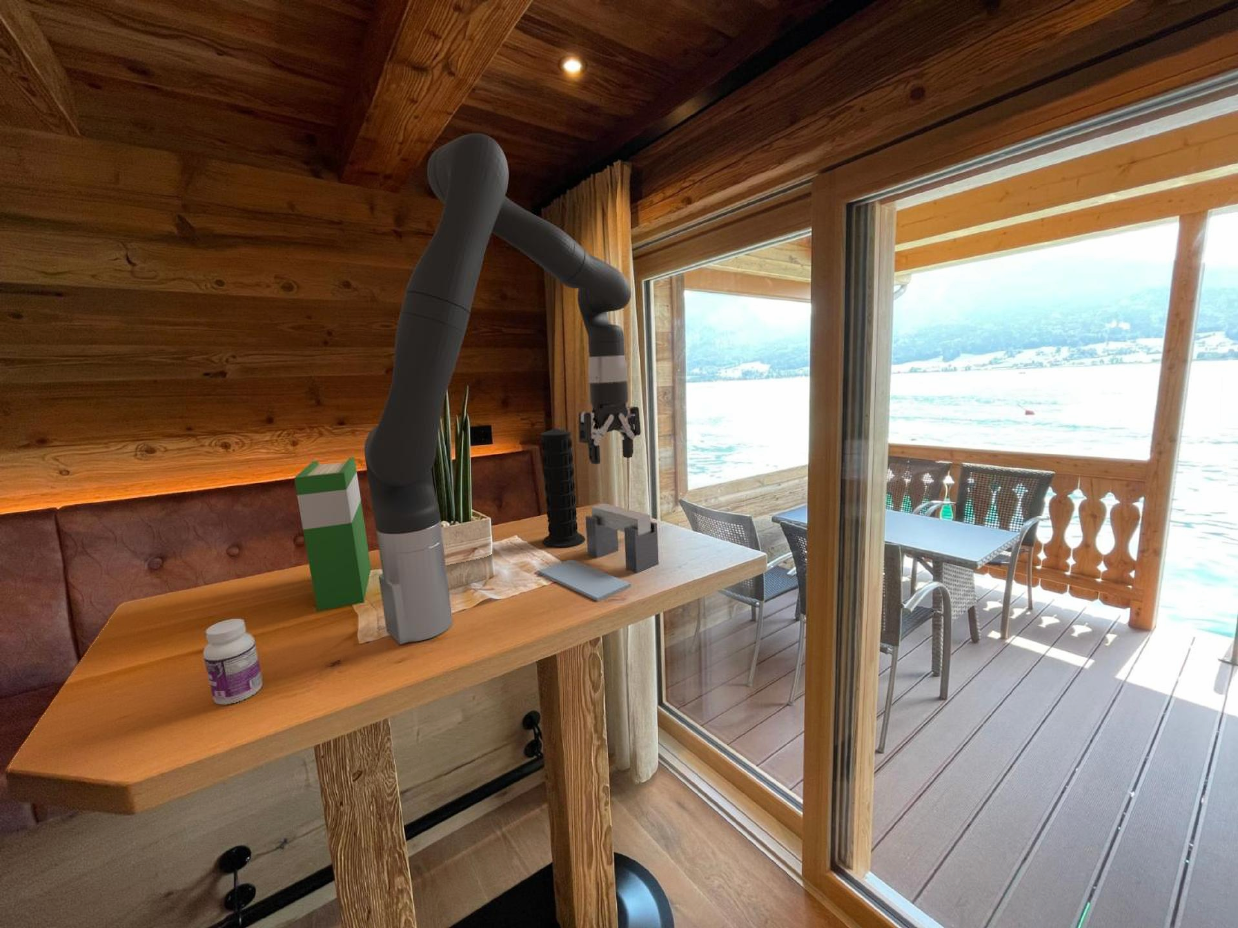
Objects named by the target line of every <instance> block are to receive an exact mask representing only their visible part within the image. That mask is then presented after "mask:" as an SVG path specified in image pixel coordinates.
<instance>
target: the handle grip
mask: <svg viewBox="0 0 1238 928" xmlns="http://www.w3.org/2000/svg"><path fill="white" fill-rule="evenodd" d="M571 435H572V431H568V430H565V429H561V428H553V429H551V430H547V431H545V432H542V433H540V437H541V440H542V441H541V449H542V453H541V454H543V456H542V463H543V468H544V470H543V476H544V479H543V481H544V483H545V484H544V491H545V496H546V497H545V504H546V506H545V507H546V509H547V511H546V517H547V521H546V522H547V523H548V527H547V530H548V535H547V536H545V537H544V538H543V540H542V542H541V543H542V545H543V546H544V547H547V548H551V549H567V548H568V549H569V548H574V547H577V546H579V545H582V544H583V543H584V542H585V541H586V538H585V536H584V534H583V533H582V534H581V533H579V531H578V529H579V528H578V522H577V521H578V517H577V508H576V507H577V503H576V502H577V499H576V490H575V489H576V488H575V487H576V486H575V485H576V483H575V476H574V475H575V472H574V470H575V469H574V462H573V461H574V455H573V452H574V451H573V449H572V446H573V441H572V439H571Z"/></svg>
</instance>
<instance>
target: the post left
mask: <svg viewBox="0 0 1238 928" xmlns="http://www.w3.org/2000/svg"><path fill="white" fill-rule="evenodd" d="M585 529H586V530H585V531H586V544H587V545H586V546H587V549H586V550H587V555H588V556H590V557H592V558H595V559H599V558H602V557H604V556H606V555H609V554H612V553H614V552H617V551H619V537H618V536H619V535H618V530H615V529H612V528H608V527H605V526H602V525H598V518H595V517H592V515H586V516H585Z"/></svg>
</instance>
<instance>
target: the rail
mask: <svg viewBox="0 0 1238 928" xmlns="http://www.w3.org/2000/svg"><path fill="white" fill-rule="evenodd" d="M590 508H591V516H592V517H595V518H598V525H602V526H605V527H608V528H612V529H615V530H617V532H618V531H619V532H622V533H625V532H624V528H625V527H630V528H634V529H637V530H638V536H641V535H644V534H647V533H649V532H651V522H652V521H651V514H648V513H643V512H640V511H635V510H632V509H627V508H625V507H624V508H623V507H619V506H617V505H616V506H615V505H612V504H609V503H604V502H603V503H600V504H597V505H593V506H591V507H590ZM650 521H651V522H650Z"/></svg>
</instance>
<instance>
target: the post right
mask: <svg viewBox="0 0 1238 928" xmlns="http://www.w3.org/2000/svg"><path fill="white" fill-rule="evenodd" d="M650 522H651V532H649V533H647V534H644V535H641V536H638V530H637V529H634V528H630V527H625V528H624V532H623V533H624V555H625V556H624V557H625V558H624V559H625V569H626V571H630V572H632V573H635V574H638V573H640V572H643V571H646V570H647V569H650V568H652V567H655V566H656V565H659V541H658V540H659V539H658V537H659V536H658V522H653V521H651V520H650Z"/></svg>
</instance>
